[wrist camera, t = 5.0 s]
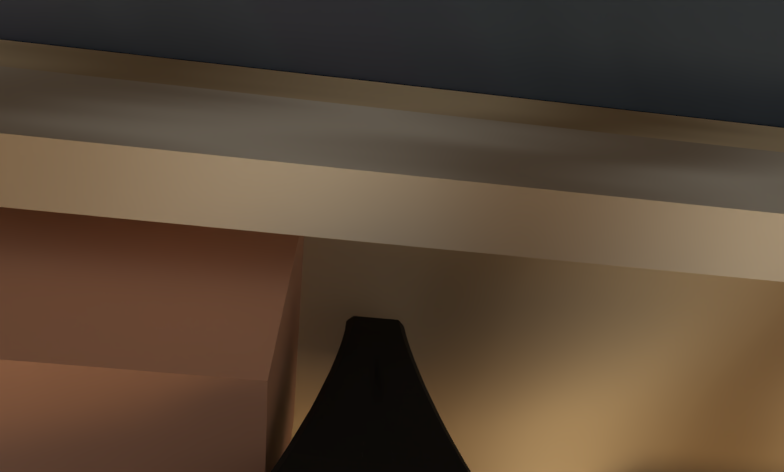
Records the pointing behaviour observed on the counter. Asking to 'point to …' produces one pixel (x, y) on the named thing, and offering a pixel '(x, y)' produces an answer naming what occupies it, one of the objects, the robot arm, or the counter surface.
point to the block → (145, 345)
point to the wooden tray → (458, 241)
